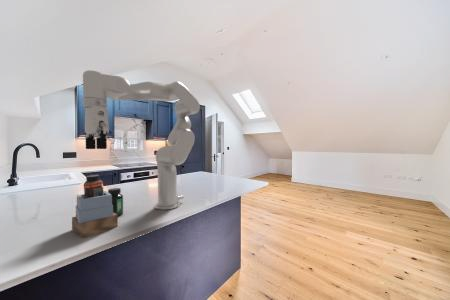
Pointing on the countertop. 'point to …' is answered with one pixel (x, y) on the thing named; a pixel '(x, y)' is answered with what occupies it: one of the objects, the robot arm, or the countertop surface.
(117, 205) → the supplement bottle
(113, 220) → the tower base block
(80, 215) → the tower top block
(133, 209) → the countertop surface
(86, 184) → the supplement bottle
